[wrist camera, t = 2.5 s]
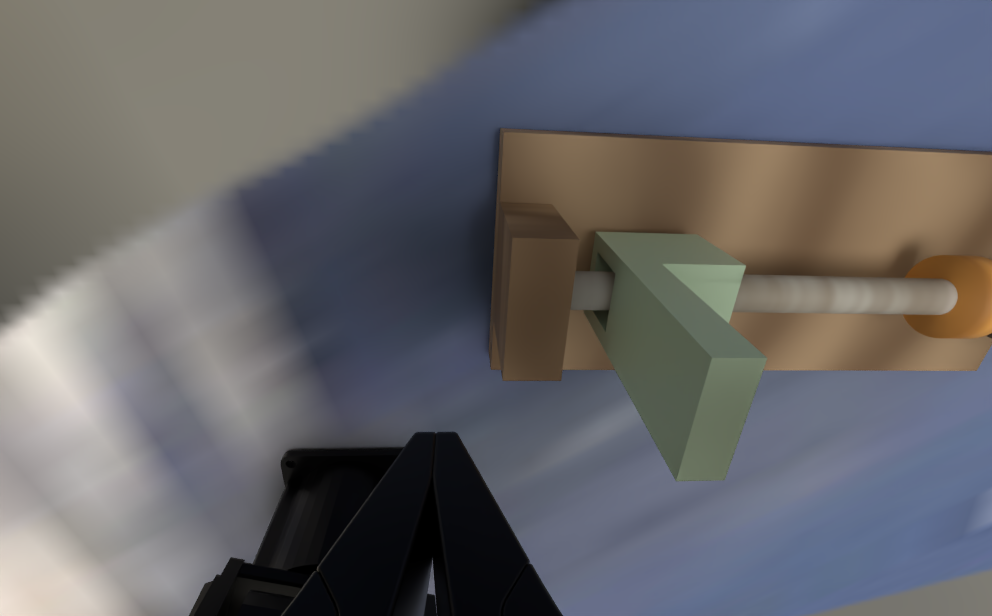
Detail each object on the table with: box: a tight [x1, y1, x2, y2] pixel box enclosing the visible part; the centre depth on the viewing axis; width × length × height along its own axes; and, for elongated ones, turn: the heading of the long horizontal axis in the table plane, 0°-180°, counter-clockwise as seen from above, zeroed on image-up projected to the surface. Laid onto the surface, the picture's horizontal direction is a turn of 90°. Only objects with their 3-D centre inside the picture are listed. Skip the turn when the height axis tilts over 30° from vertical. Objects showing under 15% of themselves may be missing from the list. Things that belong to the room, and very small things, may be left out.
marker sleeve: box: [584, 232, 767, 481], centre depth 15 cm, size 4×3×9 cm
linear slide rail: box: [489, 128, 992, 381], centre depth 19 cm, size 24×10×6 cm, turn 87°
